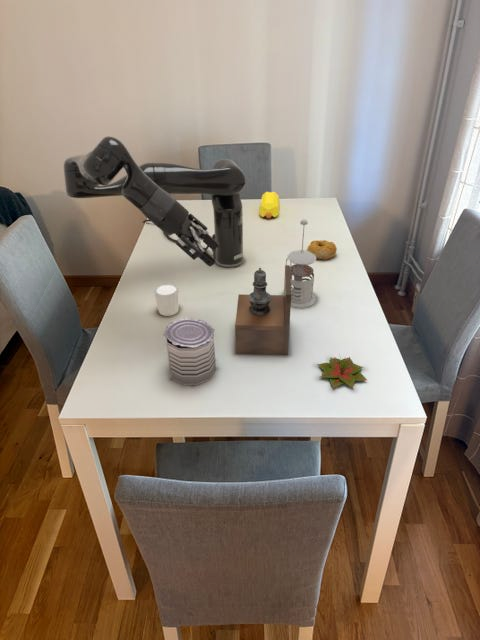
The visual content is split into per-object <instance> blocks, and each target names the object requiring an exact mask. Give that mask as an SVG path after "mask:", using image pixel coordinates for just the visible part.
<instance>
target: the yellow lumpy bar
mask: <svg viewBox="0 0 480 640" xmlns="http://www.w3.org/2000/svg"><path fill="white" fill-rule="evenodd" d="M258 214H259V215H260V217H262V218H264V217H265V218H267V219H270V218H272V217H273V218H274V219H275V218H276V217H277V216H278V215H279V214H280V197H279V194H277V192H275V191H265V192H264V193H263V194H262V195H261V200H260V206H259V212H258Z"/></svg>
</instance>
